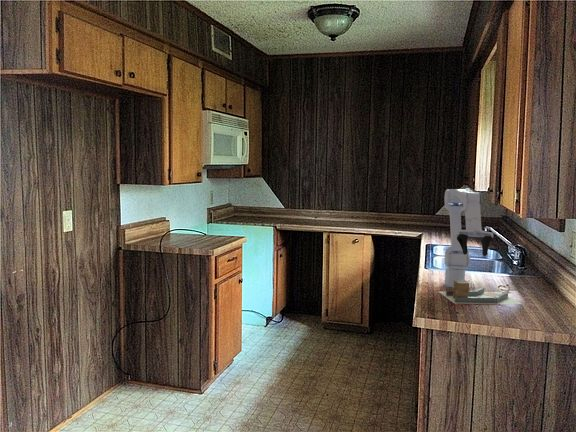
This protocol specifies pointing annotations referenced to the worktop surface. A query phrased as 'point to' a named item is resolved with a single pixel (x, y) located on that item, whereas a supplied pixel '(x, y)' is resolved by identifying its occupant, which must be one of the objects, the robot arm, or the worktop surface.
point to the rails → (478, 299)
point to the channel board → (485, 294)
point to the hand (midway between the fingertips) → (475, 254)
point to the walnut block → (460, 288)
